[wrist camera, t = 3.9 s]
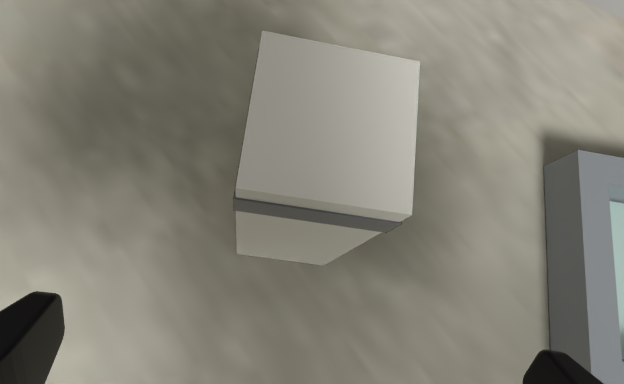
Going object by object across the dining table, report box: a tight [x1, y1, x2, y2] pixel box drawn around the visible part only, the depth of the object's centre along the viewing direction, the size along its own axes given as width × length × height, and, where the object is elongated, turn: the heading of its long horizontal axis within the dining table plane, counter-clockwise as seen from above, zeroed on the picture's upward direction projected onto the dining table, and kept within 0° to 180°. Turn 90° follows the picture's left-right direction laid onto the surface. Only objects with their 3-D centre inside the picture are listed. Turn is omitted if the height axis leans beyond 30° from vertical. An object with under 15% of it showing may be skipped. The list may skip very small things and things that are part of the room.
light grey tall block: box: [233, 30, 420, 266], centre depth 16 cm, size 4×4×11 cm
